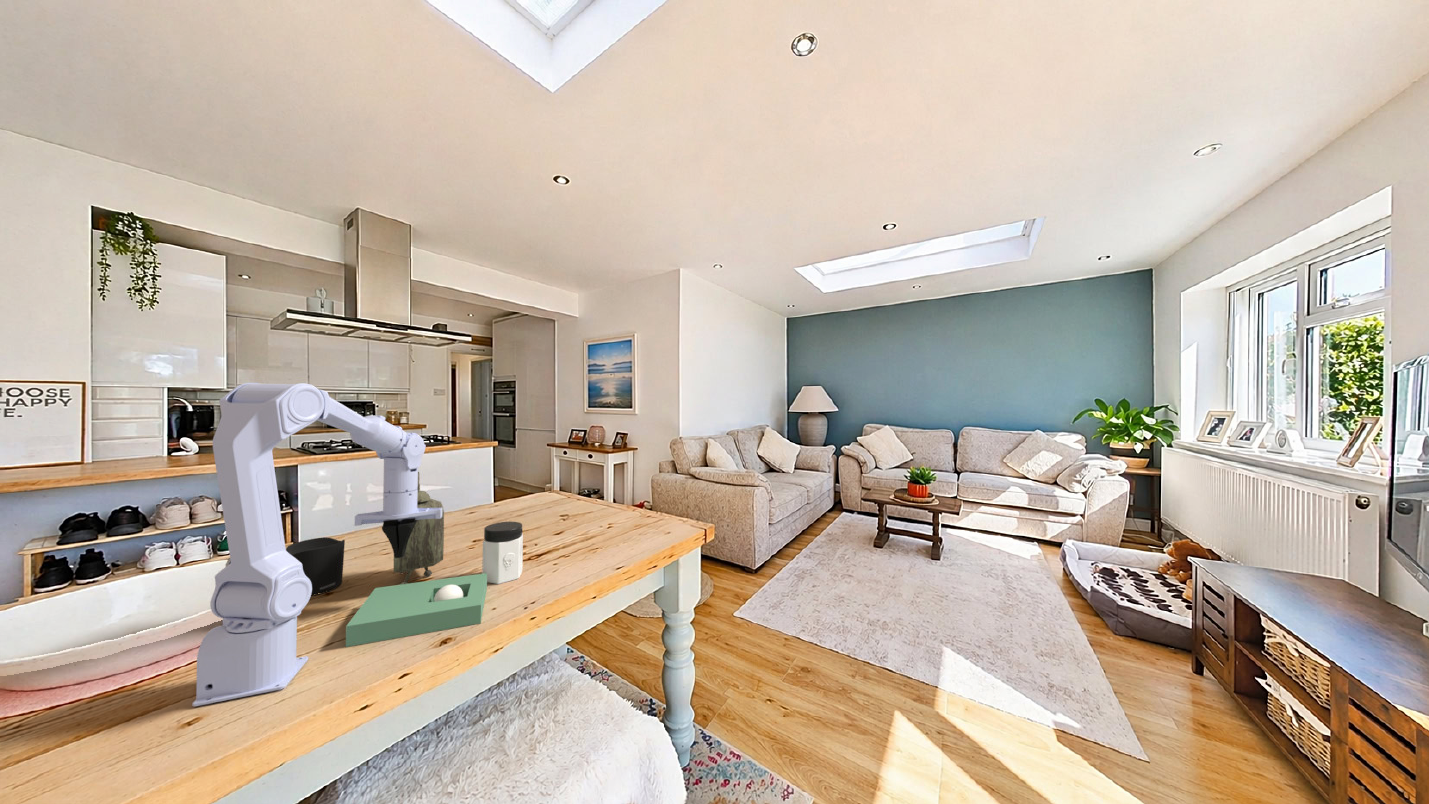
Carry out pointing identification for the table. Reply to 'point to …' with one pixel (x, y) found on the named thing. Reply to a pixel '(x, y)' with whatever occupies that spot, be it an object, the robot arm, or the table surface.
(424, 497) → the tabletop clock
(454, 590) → the white egg
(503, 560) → the jar
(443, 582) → the putting box
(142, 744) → the table surface
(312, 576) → the pen holder
